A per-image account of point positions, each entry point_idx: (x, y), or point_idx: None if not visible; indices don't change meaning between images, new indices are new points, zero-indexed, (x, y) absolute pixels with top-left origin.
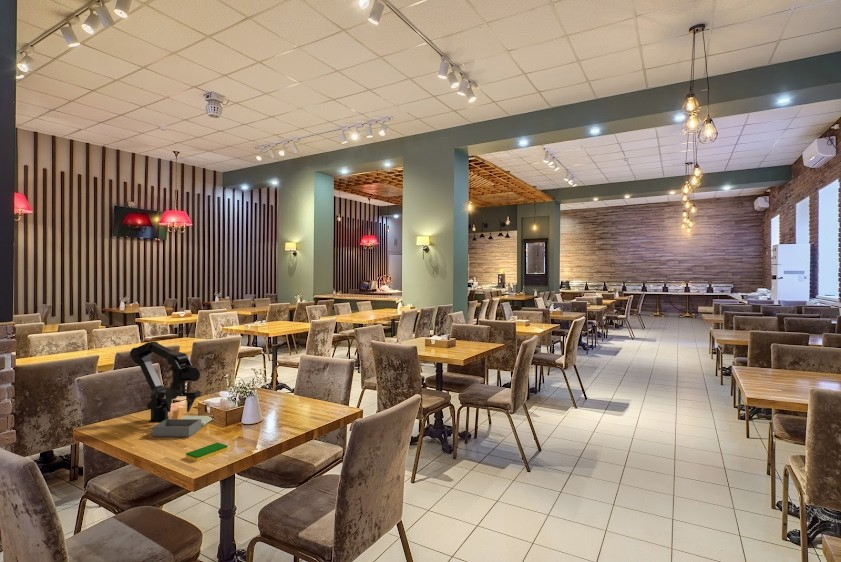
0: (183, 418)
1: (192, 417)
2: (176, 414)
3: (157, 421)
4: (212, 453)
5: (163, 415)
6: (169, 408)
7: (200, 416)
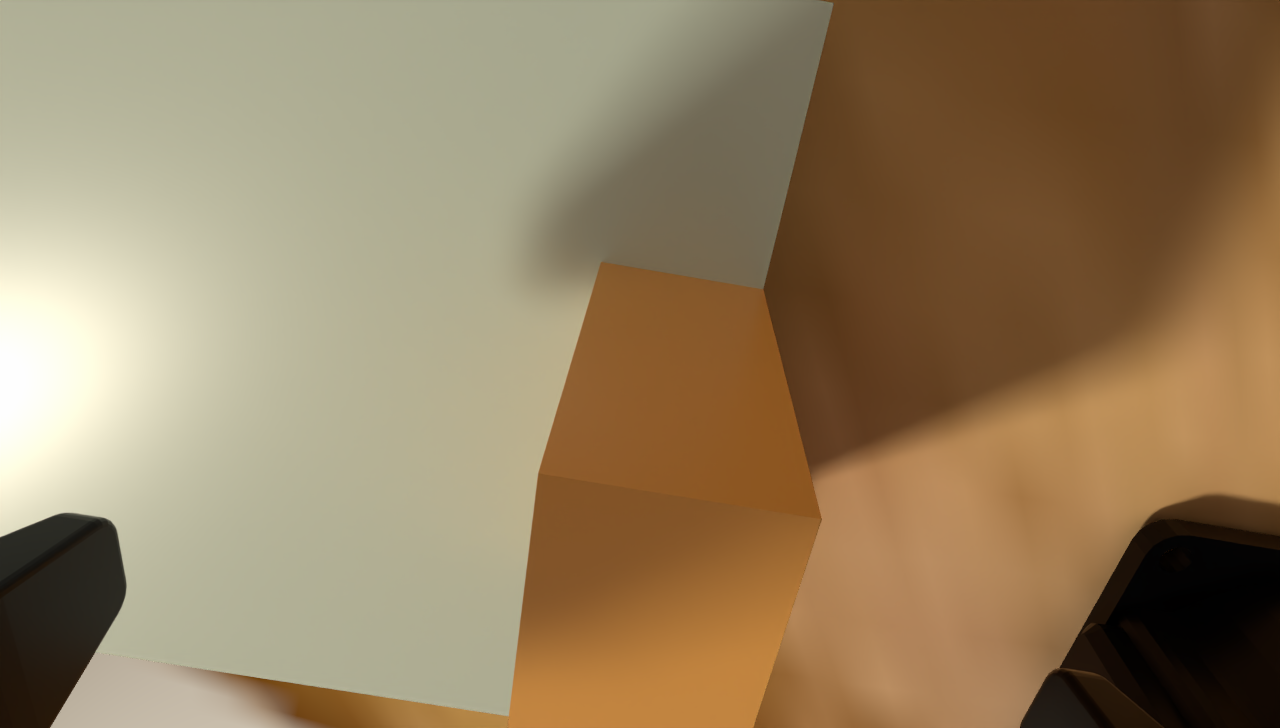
0: (481, 488)
1: (243, 542)
2: (595, 383)
3: (1274, 538)
4: None
5: (1196, 726)
6: None
7: None
